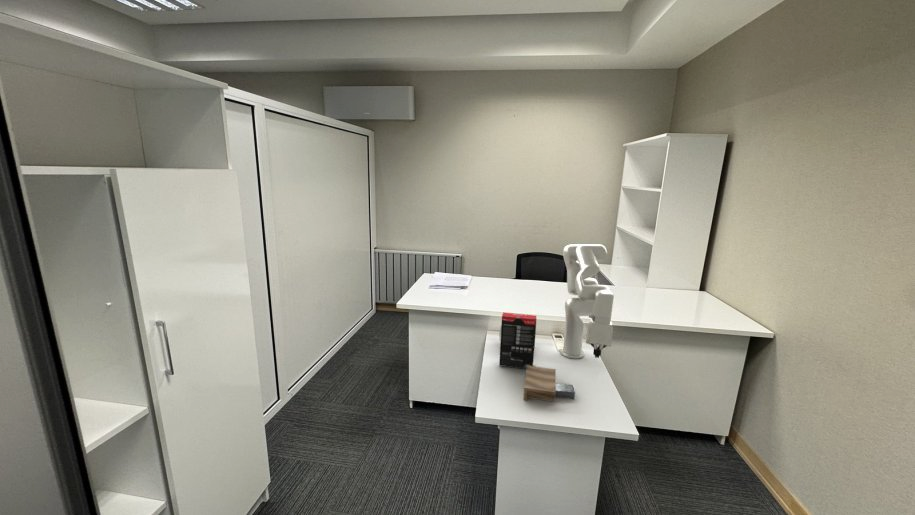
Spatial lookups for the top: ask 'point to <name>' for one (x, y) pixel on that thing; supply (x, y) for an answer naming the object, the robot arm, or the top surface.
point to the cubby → (540, 383)
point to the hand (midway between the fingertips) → (596, 356)
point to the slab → (565, 391)
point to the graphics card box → (517, 340)
